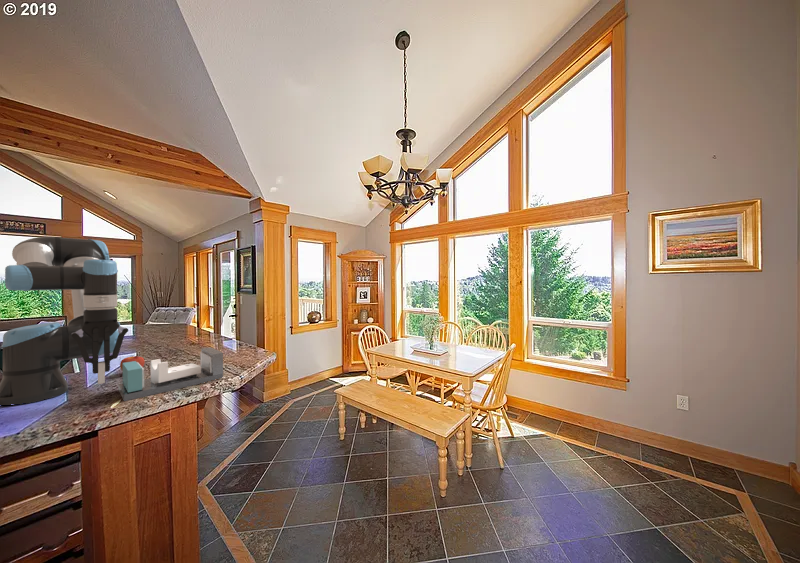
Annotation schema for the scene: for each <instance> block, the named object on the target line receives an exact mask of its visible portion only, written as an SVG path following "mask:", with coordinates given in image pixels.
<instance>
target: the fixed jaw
mask: <svg viewBox="0 0 800 563" xmlns="http://www.w3.org/2000/svg"><path fill="white" fill-rule="evenodd" d="M200 350H201V351H200V364H199V366H201V368H202V369H203V370H205V371H207V372H208V373H210V374H211V375H213V376H214V375H218V374H223V375H224V352H222V351H219V350H218V349H215V348H214V347H210V346H209V347H202V348H200Z"/></svg>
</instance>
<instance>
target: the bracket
mask: <svg viewBox="0 0 800 563" xmlns="http://www.w3.org/2000/svg"><path fill="white" fill-rule="evenodd" d="M198 373H201V366H200V364H197V363H193V362H192V363H191V362H190V363H186V364H182V365H178V366H172V367H169V362H168V361H162V360H161V358H158V359H153V360H151V359H150V378H151V382H152V383H154V384H156V383H161V382H165V381H169V380H173V379H178V378H182V377H186V376H190V375H194V374H198Z"/></svg>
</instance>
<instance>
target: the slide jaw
mask: <svg viewBox="0 0 800 563" xmlns="http://www.w3.org/2000/svg"><path fill="white" fill-rule="evenodd" d="M122 369H123V371H122V384H123V385H124V386H125V388H126V390H127V392H128V393H129V392H133V391H138V390H142V388H143V387H144V379H145V368H144V366H143V367H142V366H141V365H140V364H139V363H138V362H136V361H132V362H126V363H122Z"/></svg>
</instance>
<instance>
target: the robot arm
mask: <svg viewBox="0 0 800 563" xmlns="http://www.w3.org/2000/svg"><path fill="white" fill-rule="evenodd" d="M12 248H13V249H12V252H11V256H12V259H13V260H14V261H15V262H16V264H9V265H6V267H5V268H4V269H5V270H4V272H5V274H4V278H5V279H4V281H5V283H4V284H5V289H6V290H8V291H23V292H29V291H61V290H63V291H64V290H65V291H67V290H70V291H71V300H72V312H73V318H72V319H70V320H69V321H68V323H67V325H62V326H61V323H60V322H56V321H55V322H46V323H38V324H31V325H25V326H20V327H16V328H11V329H9V330H7V331H5V332H4V334H3V336H2V345H1V348H2V378H1V380H0V405H11V404H20V405H23V404H22V403H26V404H32V403H36V401H37V402H41V401H45V400H48V398H49V399H51V398H55V397H58V396H60V395H63V394H65V393H67V392H68V391H69V383H68V381H67V379H66V377H65V376H64V374H63V373H62V370H61V361H67V360H75V359H81V358H82V359H83V361H84V363H85V364H86V363H87V364H88V363H89V364H92V374H94V375H96V374H97V384H98V385H102V384H105V383H106V372H110V370H111V362H112V361H113V360H116V359H118V357H119V353H120V351H121V347H122V344H123V341H124V338H125V335H126V334H127V333H128V332H129V329H128V328H127V327H123V326H121V323H120V321H118V308H116V307H118V272H119V270H118V264H117V262H116V261H115V260H111V259H110V255H109V254H110V253H109V249H108V246H107V245H106V243H105V242H103V241H102V240H97V239H91V238H87V239H85V238H84V239H83V238H73V237H71V238H70V237H62V236H61V237H60V236H39V237H33V238H28V239H26V240H23V241H20V242H19V243H17V244H16V245H15V246H14V247H12ZM102 355H103V359H104V360H102V361H99V356H102ZM44 399H45V400H44ZM31 402H32V403H31Z"/></svg>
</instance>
